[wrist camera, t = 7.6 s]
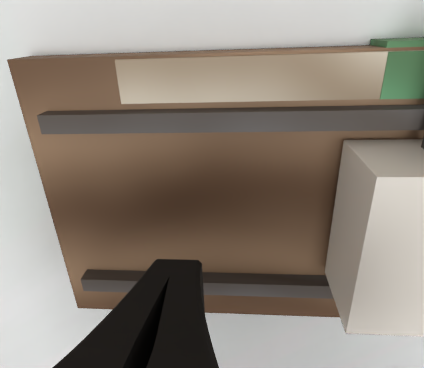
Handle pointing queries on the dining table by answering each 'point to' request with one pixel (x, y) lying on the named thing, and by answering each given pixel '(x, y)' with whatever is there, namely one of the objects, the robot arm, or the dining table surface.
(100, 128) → the base
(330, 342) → the dining table surface
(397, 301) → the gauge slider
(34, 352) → the dining table surface
